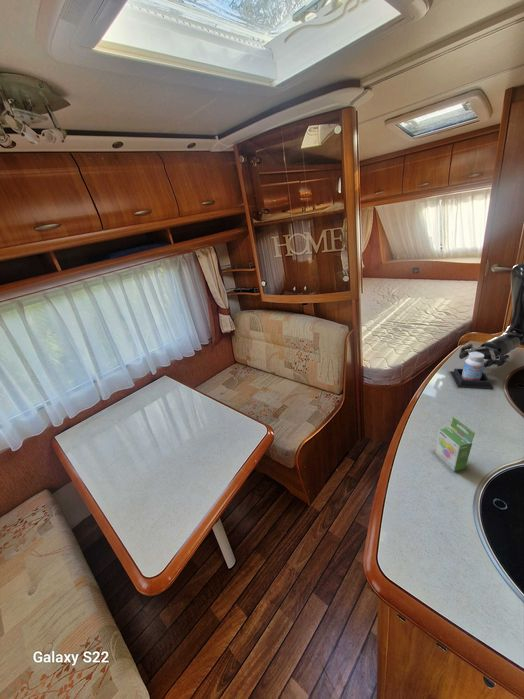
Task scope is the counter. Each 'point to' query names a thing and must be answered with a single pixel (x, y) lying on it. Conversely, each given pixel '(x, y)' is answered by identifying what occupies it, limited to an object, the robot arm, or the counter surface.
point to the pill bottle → (473, 366)
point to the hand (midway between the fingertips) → (472, 360)
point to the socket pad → (470, 381)
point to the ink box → (454, 445)
